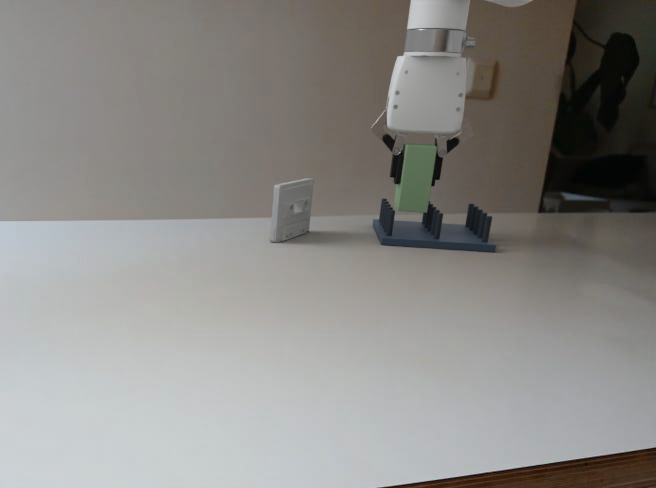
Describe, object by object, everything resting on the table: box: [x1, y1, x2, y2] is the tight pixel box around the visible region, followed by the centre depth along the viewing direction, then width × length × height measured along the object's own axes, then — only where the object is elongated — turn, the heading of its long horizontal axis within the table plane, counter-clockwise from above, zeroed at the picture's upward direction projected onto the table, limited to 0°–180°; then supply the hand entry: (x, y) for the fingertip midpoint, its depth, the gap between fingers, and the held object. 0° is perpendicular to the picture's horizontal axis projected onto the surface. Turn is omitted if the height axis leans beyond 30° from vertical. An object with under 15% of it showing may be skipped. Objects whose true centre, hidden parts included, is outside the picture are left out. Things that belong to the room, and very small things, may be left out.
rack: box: [372, 198, 497, 253], centre depth 107 cm, size 15×16×4 cm
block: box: [393, 142, 437, 214], centre depth 106 cm, size 4×6×9 cm, turn 170°
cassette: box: [269, 177, 315, 243], centre depth 104 cm, size 12×2×8 cm, turn 148°
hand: (413, 182), depth 106 cm, fingers closed on block, 4 cm apart
